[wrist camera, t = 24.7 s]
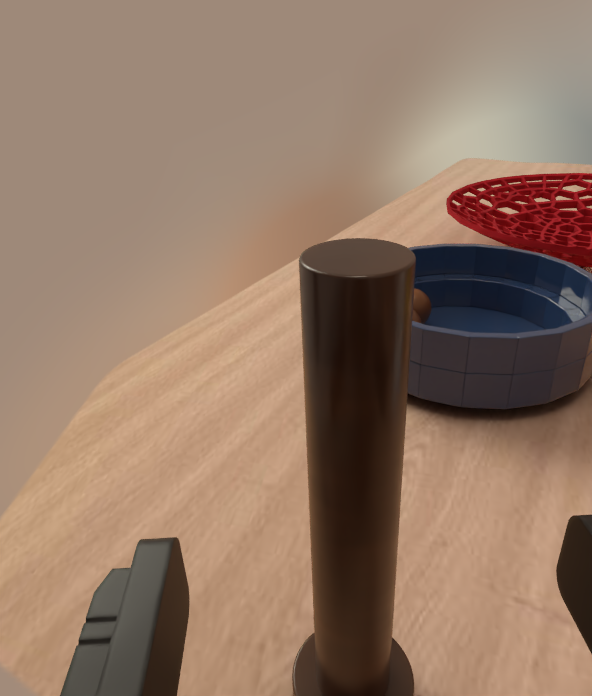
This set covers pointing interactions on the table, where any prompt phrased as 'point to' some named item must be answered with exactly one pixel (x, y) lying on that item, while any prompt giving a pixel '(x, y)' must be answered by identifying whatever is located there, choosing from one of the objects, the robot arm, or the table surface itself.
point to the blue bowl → (499, 327)
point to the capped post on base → (355, 461)
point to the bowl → (531, 214)
